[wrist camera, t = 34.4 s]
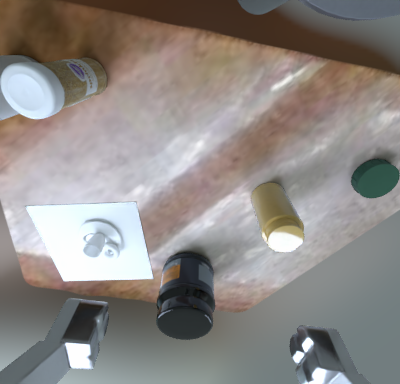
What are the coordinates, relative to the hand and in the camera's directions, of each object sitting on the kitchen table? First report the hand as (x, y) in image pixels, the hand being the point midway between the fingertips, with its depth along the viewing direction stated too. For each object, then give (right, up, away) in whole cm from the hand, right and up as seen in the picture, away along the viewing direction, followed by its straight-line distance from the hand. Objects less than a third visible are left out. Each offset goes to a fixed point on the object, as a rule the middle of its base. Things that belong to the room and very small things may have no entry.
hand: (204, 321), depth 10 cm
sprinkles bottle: (-15, +21, +22) cm, 34 cm away
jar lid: (+27, +7, +27) cm, 39 cm away
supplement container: (-3, -11, +41) cm, 42 cm away
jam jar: (+11, +5, +31) cm, 33 cm away
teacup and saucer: (-21, -5, +38) cm, 43 cm away
